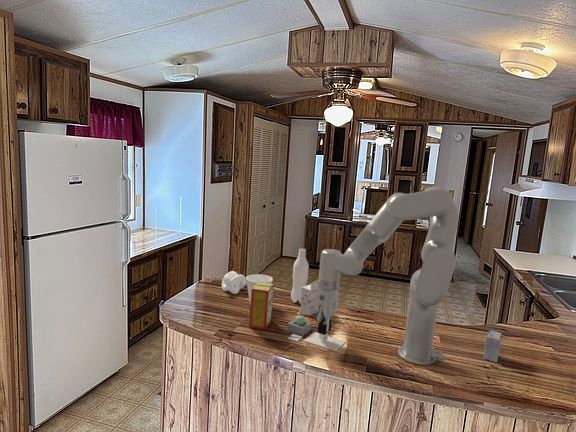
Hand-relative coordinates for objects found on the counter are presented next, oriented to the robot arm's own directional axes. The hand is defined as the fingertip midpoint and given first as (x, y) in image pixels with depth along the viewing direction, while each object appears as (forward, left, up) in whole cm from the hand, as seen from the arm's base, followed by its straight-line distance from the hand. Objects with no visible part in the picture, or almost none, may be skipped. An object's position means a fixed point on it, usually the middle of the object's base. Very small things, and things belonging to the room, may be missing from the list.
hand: (324, 331), depth 146 cm
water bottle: (+26, -30, -4) cm, 40 cm away
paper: (-1, 0, -4) cm, 4 cm away
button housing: (+11, -3, -4) cm, 12 cm away
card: (+9, +4, -4) cm, 11 cm away
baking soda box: (+26, +2, -4) cm, 27 cm away
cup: (+38, -14, -4) cm, 41 cm away
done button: (+11, -3, -3) cm, 12 cm away
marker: (0, 0, -3) cm, 3 cm away
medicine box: (-55, -27, -4) cm, 61 cm away
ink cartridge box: (+16, -22, -4) cm, 28 cm away
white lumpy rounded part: (+58, -21, -4) cm, 62 cm away
